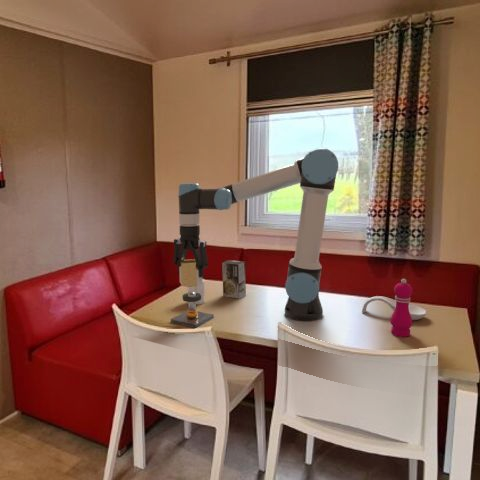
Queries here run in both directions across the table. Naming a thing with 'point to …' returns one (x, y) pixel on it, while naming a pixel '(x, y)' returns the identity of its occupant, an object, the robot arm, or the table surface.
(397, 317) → the pepper mill
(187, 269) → the sleeve
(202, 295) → the white cup
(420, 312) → the white curved piece
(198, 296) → the ring
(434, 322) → the table surface
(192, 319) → the pipe stand
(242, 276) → the coffee box
